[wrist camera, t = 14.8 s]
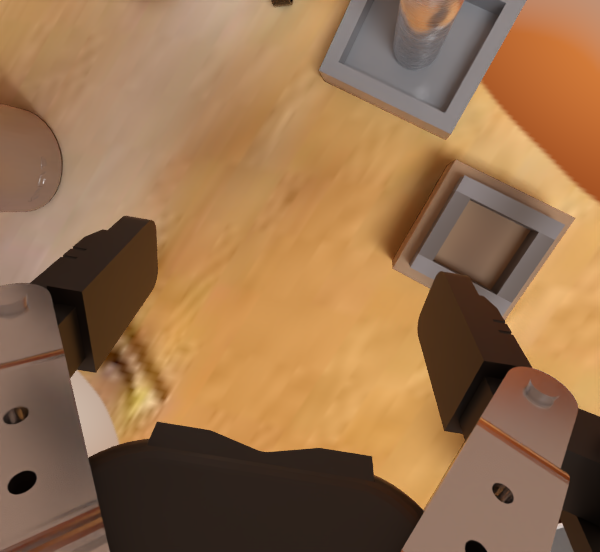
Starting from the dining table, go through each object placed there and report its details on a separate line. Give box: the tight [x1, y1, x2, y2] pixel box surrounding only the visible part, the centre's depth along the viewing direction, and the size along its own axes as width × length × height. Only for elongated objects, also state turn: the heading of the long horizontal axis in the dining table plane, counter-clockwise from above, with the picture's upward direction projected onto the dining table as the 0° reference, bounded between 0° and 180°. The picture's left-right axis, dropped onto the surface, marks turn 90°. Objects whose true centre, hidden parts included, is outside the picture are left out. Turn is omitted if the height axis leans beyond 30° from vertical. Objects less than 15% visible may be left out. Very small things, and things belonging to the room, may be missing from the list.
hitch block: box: [392, 160, 575, 320], centre depth 27 cm, size 8×8×6 cm
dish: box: [319, 0, 527, 140], centre depth 27 cm, size 10×9×2 cm
